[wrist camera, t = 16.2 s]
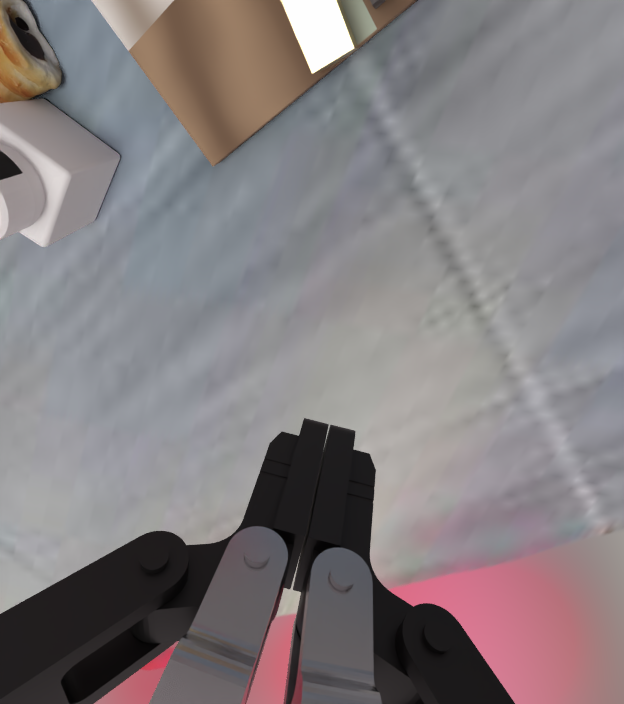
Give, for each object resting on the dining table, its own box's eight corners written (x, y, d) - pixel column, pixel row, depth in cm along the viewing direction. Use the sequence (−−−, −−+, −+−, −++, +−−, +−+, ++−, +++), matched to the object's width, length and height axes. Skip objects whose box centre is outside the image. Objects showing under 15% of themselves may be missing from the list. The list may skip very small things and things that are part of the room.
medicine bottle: (22, 171, 39) (-108, 210, 29) (43, 95, 35) (-99, 111, 25) (95, 222, 40) (-4, 276, 31) (123, 155, 37) (19, 192, 27)
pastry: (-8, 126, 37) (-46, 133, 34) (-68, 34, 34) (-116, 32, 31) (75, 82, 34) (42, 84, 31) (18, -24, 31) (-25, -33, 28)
